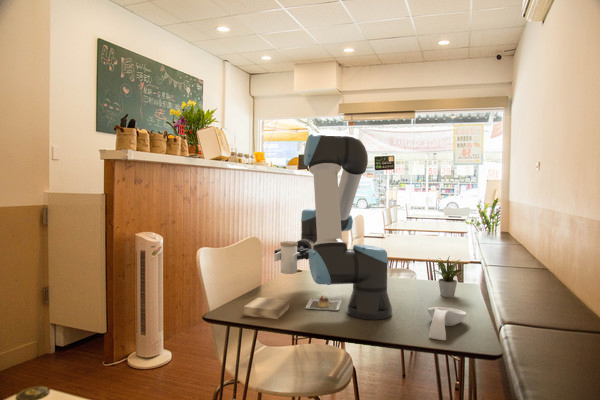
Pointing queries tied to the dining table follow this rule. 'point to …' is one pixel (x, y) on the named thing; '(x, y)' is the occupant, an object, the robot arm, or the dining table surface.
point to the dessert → (323, 303)
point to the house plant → (448, 278)
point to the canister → (288, 257)
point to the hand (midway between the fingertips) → (284, 258)
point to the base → (266, 308)
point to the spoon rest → (443, 320)
